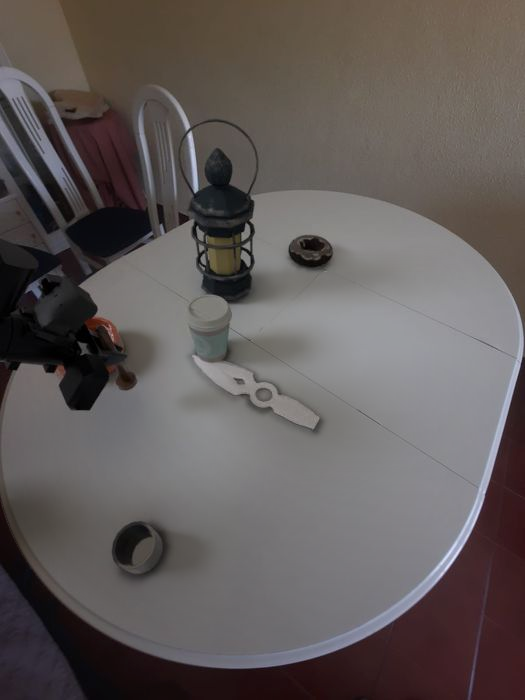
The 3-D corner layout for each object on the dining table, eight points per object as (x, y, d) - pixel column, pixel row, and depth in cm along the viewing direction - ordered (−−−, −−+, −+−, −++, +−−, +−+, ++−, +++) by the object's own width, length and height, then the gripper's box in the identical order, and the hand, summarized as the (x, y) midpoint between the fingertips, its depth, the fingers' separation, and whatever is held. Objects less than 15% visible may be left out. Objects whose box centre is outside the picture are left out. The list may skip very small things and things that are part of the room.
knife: (308, 438, 58) (309, 436, 57) (181, 366, 67) (181, 363, 66) (323, 411, 61) (324, 409, 60) (201, 346, 70) (200, 344, 69)
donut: (330, 246, 94) (333, 233, 91) (331, 272, 87) (334, 259, 84) (289, 243, 95) (290, 230, 92) (286, 268, 87) (287, 255, 84)
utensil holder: (127, 582, 44) (117, 578, 41) (118, 541, 47) (107, 534, 44) (167, 560, 46) (161, 554, 43) (156, 521, 49) (148, 513, 46)
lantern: (192, 305, 78) (161, 134, 51) (202, 270, 86) (180, 106, 59) (254, 309, 78) (255, 138, 51) (258, 273, 86) (261, 110, 59)
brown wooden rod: (129, 393, 55) (101, 338, 44) (113, 387, 55) (81, 331, 45) (141, 378, 57) (116, 321, 46) (124, 372, 57) (96, 315, 47)
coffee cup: (186, 343, 70) (178, 297, 62) (226, 334, 73) (223, 288, 64) (196, 373, 65) (189, 328, 56) (238, 362, 67) (237, 317, 59)
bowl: (60, 395, 62) (47, 380, 58) (51, 346, 69) (39, 329, 65) (132, 369, 66) (125, 353, 62) (116, 325, 73) (109, 308, 70)
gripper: (55, 330, 32) (180, 352, 45) (11, 238, 41) (125, 278, 54) (9, 415, 35) (138, 412, 48) (-23, 311, 44) (93, 332, 57)
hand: (123, 353), depth 51 cm, fingers closed on brown wooden rod
